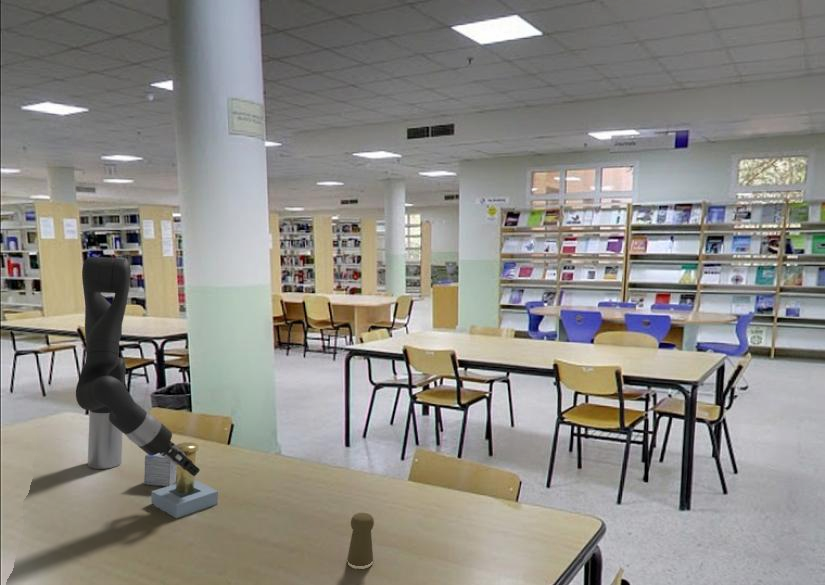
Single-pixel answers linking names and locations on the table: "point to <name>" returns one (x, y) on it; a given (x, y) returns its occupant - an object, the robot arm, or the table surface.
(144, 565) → the table surface
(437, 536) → the table surface
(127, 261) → the robot arm
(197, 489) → the jig
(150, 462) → the medicine box
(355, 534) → the cork
